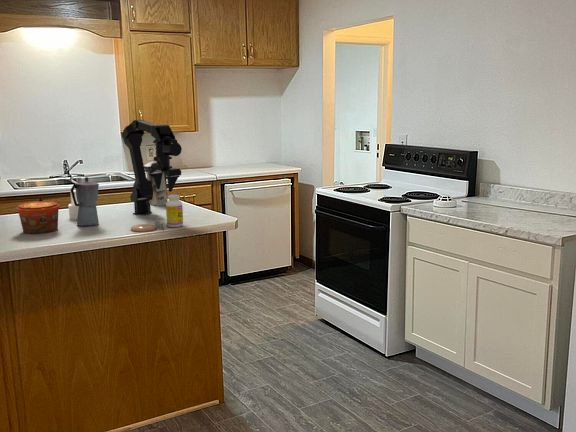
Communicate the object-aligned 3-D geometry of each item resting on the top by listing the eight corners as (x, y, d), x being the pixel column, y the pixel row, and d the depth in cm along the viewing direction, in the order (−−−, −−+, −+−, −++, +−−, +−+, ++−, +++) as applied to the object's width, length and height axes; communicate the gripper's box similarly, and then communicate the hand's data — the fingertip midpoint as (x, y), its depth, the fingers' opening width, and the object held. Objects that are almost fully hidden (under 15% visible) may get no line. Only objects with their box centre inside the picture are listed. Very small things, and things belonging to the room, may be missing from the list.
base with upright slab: (94, 217, 253) (92, 190, 251) (75, 220, 247) (73, 193, 245) (84, 214, 259) (82, 188, 257) (65, 217, 253) (63, 191, 251)
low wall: (155, 225, 235) (155, 219, 235) (157, 225, 236) (157, 219, 235) (161, 229, 227) (161, 223, 226) (163, 229, 227) (163, 223, 226)
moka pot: (108, 221, 243) (105, 175, 239) (85, 229, 229) (81, 180, 225) (90, 220, 246) (86, 175, 242) (65, 227, 232) (61, 179, 228)
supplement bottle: (179, 227, 230) (178, 196, 228) (164, 227, 231) (162, 196, 229) (185, 224, 236) (184, 194, 234) (170, 224, 238) (169, 193, 235)
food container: (18, 236, 217) (15, 209, 215) (19, 228, 231) (16, 202, 229) (62, 232, 223) (60, 206, 221) (61, 225, 238) (58, 199, 236)
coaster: (125, 230, 225) (125, 228, 225) (140, 225, 235) (140, 223, 234) (147, 232, 222) (146, 230, 222) (161, 227, 231) (160, 225, 231)
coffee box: (168, 204, 284) (166, 172, 281) (157, 206, 280) (155, 174, 276) (159, 202, 290) (157, 171, 287) (147, 203, 286) (146, 172, 283)
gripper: (134, 154, 242) (136, 190, 245) (158, 157, 229) (160, 195, 232) (156, 152, 250) (158, 187, 253) (181, 155, 237) (182, 192, 240)
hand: (164, 190), depth 244 cm, fingers open, 9 cm apart
